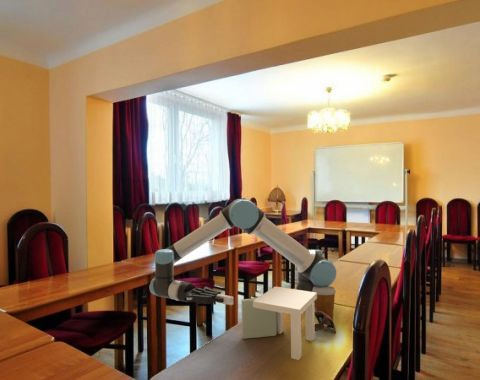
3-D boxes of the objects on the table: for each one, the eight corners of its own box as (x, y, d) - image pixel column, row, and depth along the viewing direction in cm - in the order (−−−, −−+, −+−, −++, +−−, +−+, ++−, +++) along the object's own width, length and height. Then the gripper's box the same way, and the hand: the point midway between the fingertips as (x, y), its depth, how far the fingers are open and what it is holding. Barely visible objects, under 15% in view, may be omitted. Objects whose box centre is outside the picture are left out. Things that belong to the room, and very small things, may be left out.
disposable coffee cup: (320, 313, 139) (319, 284, 140) (341, 317, 132) (339, 287, 133) (308, 318, 132) (307, 288, 133) (329, 322, 125) (328, 290, 127)
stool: (275, 328, 122) (275, 286, 122) (317, 337, 114) (316, 292, 114) (253, 349, 107) (253, 301, 107) (300, 362, 99) (299, 309, 99)
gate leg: (277, 332, 118) (276, 296, 118) (278, 335, 116) (278, 298, 116) (242, 336, 116) (241, 299, 116) (243, 338, 114) (242, 301, 114)
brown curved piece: (340, 338, 115) (330, 320, 113) (316, 348, 116) (306, 331, 115) (333, 316, 126) (324, 300, 125) (311, 326, 128) (301, 309, 126)
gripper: (192, 295, 137) (241, 305, 125) (171, 305, 126) (222, 317, 114) (192, 278, 137) (241, 286, 125) (171, 286, 126) (222, 296, 114)
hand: (232, 301), depth 120 cm, fingers closed
